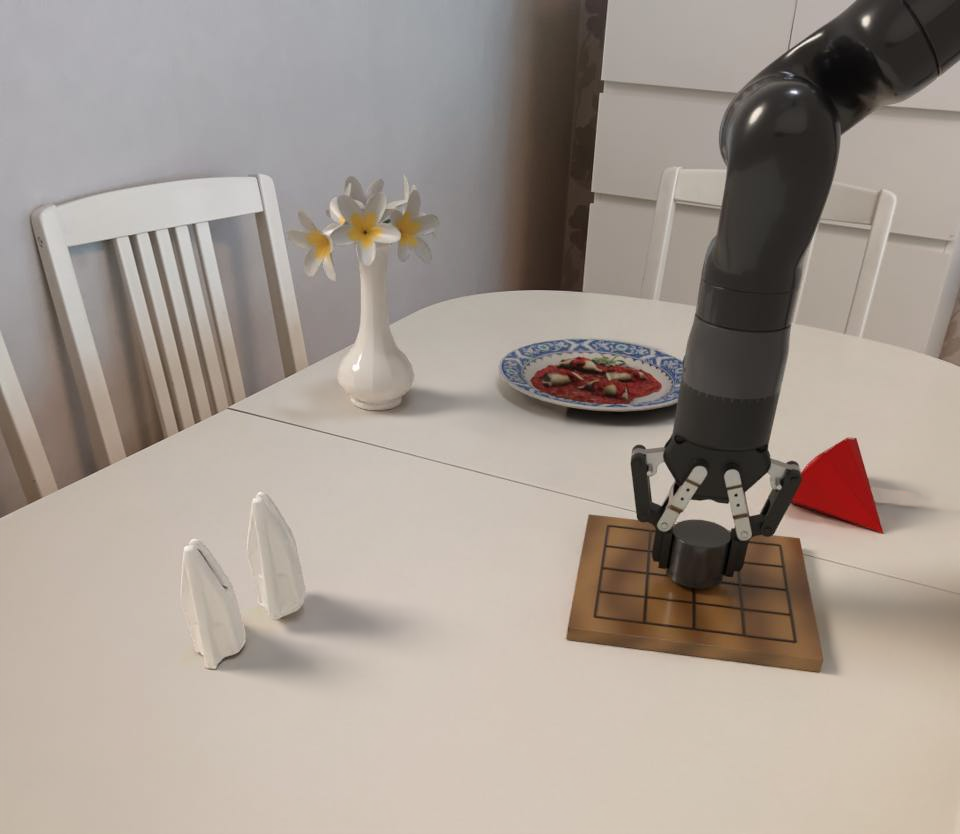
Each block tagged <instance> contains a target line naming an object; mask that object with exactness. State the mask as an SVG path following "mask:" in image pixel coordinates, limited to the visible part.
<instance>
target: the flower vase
mask: <svg viewBox="0 0 960 834" xmlns="http://www.w3.org/2000/svg"><path fill="white" fill-rule="evenodd" d="M343 184H344V185H343V189H344V193H342V194H341V193H340V195H338V196H337V197H333V198H332V199H331V201H330V203H329V207H327V209H326V210H325V215H326V216H327V217H329V218H330V219H332V220H333V221H334V222H335V223H330V224H328V225H327V226H325V227H324V228H323V230H321V229H320V228H319V227H318V226H317V225H316V224H315V223H314V222H313V220H312V219H311V218H310V217H309V216H308V214H306V212H305V211H303V210H299V211H298V213H297V215H298V220H299V223H300V225H301V227H302V228H303V229H304V230H300V229H296V228H289V229H287V230H286V231H285V236H286V238H287V239H288V240H289V241H290V243H292V245H294V246H295V247H298V248H300V249H304V250H305V249H306V250H307V249H308V250H307V252H306V253H305V256H304V258H303V270H304V273H305V275H306V276H307V277H309V278H313V277H314V276H316V274H317V273H318V271H319V269H320V267H321V265H322V268H323V271H324V273H325V275H326V276H327V278H328V279H329V280H330V281H331V282H334V283H335V282H336V281H337V273H336V269H335V263H334V260H333V252H334V249H335V247H346V246H351V245H353V247H354V250H355V252H356V257H357V258H356V259H357V263H358V268H359V277H360V278H359V279H360V318H359V328H358V333H357V335H356V338H355V341H354V343H353V345H352V347H351V348H350V349H349V350H348V351H347V352H346V353H345V354H344V356H343V358H341V360H340V362H339V364H338V368H337V371H336V373H337V374H336V377H337V383H338V384H339V385H340V387H341V388H342V390H343V391H344V393H346V394H347V395H348V396H350V400H351V403H352V404H353V405H354V406H356V407H357V408H360V409H361V410H362V409H363V410H367V411H387V410H391V409H394V408H396V407H398V406H400V405H401V403H402V401H403V396H404V395H405V394H407V393H408V392H409V391H410V390H411V388H412V386H413V384H414V382H415V378H416V375H415V370H414V367H413V364H412V362H411V360H410V358H409V357H408V356H407V355H406V354H405V353H404V352H403V351H402V350H401V348H400V347H399V346H398V345H397V343H396V341H395V339H394V336H393V333H392V330H391V325H390V322H389V321H390V320H389V319H390V318H389V310H388V291H387V271H388V261H389V254H390V250H391V247H392V245H393V244H395V243H397V257H398V260H399V261H400V262H401V263H405V262H406V261H407V260H408V259H409V258H410V255H411V250H412V251H413V252H414V254H415V255H416V256H417V257H418V258H419V260H421V262H423V263H424V264H426V265H427V264H428V265H430V264H431V262H432V259H433V258H432V252H431V248H430V246H429V244H428V242H426V240H425V239H423V238H422V237H425V236H429V235H431V236H432V237H434V238H435V239H437V236H436V234H435V233H434V232H436V231H437V230H438V228H439V226H440V222H441V221H440V218H439V217H438V216H437V215H435V214H433V213H432V214H431V213H428V214H426V213H425V212H423V211H420V208H421V204H422V201H421V195H420V192H419V190H418V188H417V187H416V185H414V184H412V186H411V188H410V184H409V180H408V178H407V176H406V173H403V186H404V187H403V188H404V189H403V190H404V191H403V192H404V193H403V196H404V197H403V199H399V200H394V201H391V202H389V203H388V199H387V195H386V194H385V193H384V192H382V191H383V188H384V185H385V182H384V180H383V178H377V179H376V180H374V181H373V182H371V183H370V184H369V186H368V188H367V189H366V192H364V190H363V189H364V188H363V187H362V184H361V183H360V181H359V180H358V178H356V177H355V176H353V175H349V176H347V177H346V178H345V180H344V183H343ZM401 207H403V209H402V211H400V210H399V209H400V208H401ZM388 217H389V218H388ZM386 218H388V219H386Z"/></svg>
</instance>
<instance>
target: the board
mask: <svg viewBox="0 0 960 834" xmlns="http://www.w3.org/2000/svg"><path fill="white" fill-rule="evenodd" d="M586 520H587V521H586V527H585V531H584V537H583V542H582V548H581V553H580V560H579V565H578V570H577V575H576V580H575V586H574V590H573V597H572V601H571V608H570V613H569V619H568V623H567V630H566V640H568V641H575V642H577V641H578V642H584V643H593V644H600V645H607V646H616V647H622V648H631V649H639V650H647V651H653V652H661V653H670V654H676V655H683V656H684V655H685V656H686V655H687V656H692V657H699V658H700V657H701V658H708V659H715V660H724V661H730V662H731V661H732V662H737V663H738V662H739V663H748V664H754V665H761V666H762V665H763V666H769V667H777V668H784V669H793V670H800V671H808V672H817V673H820V672H821V671H822V668H823V664H824V654H823V649H822V645H821V640H820V635H819V630H818V624H817V619H816V614H815V609H814V604H813V599H812V593H811V588H810V584H809V578H808V573H807V567H806V563H805V557H804V553H803V548H802V542H801V538H800V537H794V536H784V535H776V534H773V535H772V536H770V537H765V536H763V535H758V536H754V537H752V538H751V539H750V540H749V543H748V547H747V552H746V556H745V560H744V565H743V568H742V569H741V570H740V572H738V571H734V575H733V577H726V576H724V577H723V580H722V582H721V583H720V584H718V585H717V586H714V587H711V588H702V589H701V588H690V587H686V586H683V585H680V584H678V583H676V582H674V581H673V580H671V579H670V578H669V577H668V576H667V574H666V572H665V569H661V568H658V564H659V562H655V561H653V558H652V548H653V541H654V535H655V527H654V525H652V524H651V523H648V522H640V521H639V520H638V519H633V518H624V517H616V516H608V515H606V516H605V515H598V514H590V513H589V514H588V516H587V519H586ZM675 524H676V523H674V524H673V526H674V525H675ZM727 530H728V531H729V532H730V533H731V529H727Z"/></svg>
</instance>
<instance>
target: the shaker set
mask: <svg viewBox="0 0 960 834" xmlns="http://www.w3.org/2000/svg"><path fill="white" fill-rule="evenodd" d="M249 514H250V515H249V521H248V531H247V539H246V555H247V560H248V564H249V568H250V569H249V570H250V572H251V576H252V580H253V585H254V589H255V593H256V596H257V597H256V598H257V603H258V605H259V606H260V607H261V608H262V609H263V610H264V611H265V612H266V613H267V617H268V618H269V619H272V620H279V619H281V618H282V617H286V616H289V615H292V614H293V613H295V612H298V611H299V610H300V609H301V607H302V606H303V604H304V602H305V601H306V597H307V588H306V585H305V579H304V573H303V570H302V569H303V568H302V565H301V560H300V554H299V551H298V546H297V542H296V538H295V536H294V534H293V531H292V530H291V527H290V526H289V525H288V523H287V521H286V518H284V516H283V514H282V513H281V511H280V509H279V507H277V505H276V503H275V502H274V501H273V500H272V498H271V497H270V496H269V494H268V493H266V492H264V491H263V492H262V491H259V492H258V493H256V495H255V497H254V498H253V499H252V501H251V505H250V513H249ZM179 593H180V595H179V596H180V603H181V608H182V611H183V613H184V617H185V620H186V623H187V626H188V630H189V633H190V636H191V640H192V643H193V645H194V650H195V652H196V653H200V655H202V656H203V658H204V667H205V668H207V669H211V670H216V669H217V667H218V665H219V663H221V662H222V661H223V659H226V657H227V658H229V657H231V656H233V655H236V654H238V653H239V652H240V651H241V650H242V648H243V647H244V646H245V644H246V642H247V641H246V639H247V631H246V628H245V625H244V621H243V617H242V613H241V610H240V606H239V603H238V599H237V595H236V593H235V589H234V586H233V583H232V582H231V579H230V578H229V576H228V575H227V573H226V572H225V570H224V568H223V567H222V566H221V564H220V563H219V561H218V560H217V559H216V557H215V556H214V555H213V553H212V552H211V550H210V549H209V547H208V546H206V544H204V542H203V541H202V540H200V539H197V538H191V539H190V540H189V543H188V545H186V546H184V548H183V553H182V563H181V576H180V591H179Z"/></svg>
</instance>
